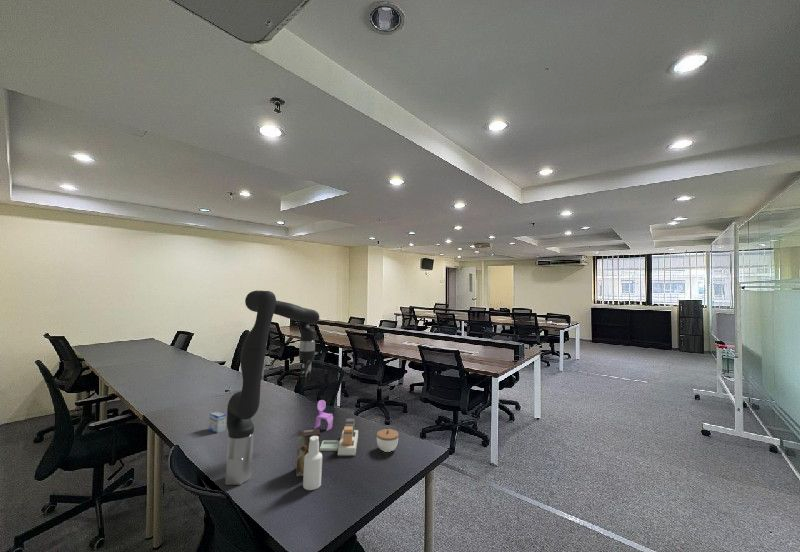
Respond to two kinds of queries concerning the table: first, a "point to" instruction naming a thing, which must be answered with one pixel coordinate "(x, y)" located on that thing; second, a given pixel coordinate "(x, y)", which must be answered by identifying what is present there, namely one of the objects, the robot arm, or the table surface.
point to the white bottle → (312, 465)
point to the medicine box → (217, 422)
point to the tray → (329, 445)
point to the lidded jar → (387, 439)
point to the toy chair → (323, 415)
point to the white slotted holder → (352, 449)
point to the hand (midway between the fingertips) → (305, 382)
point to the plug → (348, 436)
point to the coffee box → (304, 447)
